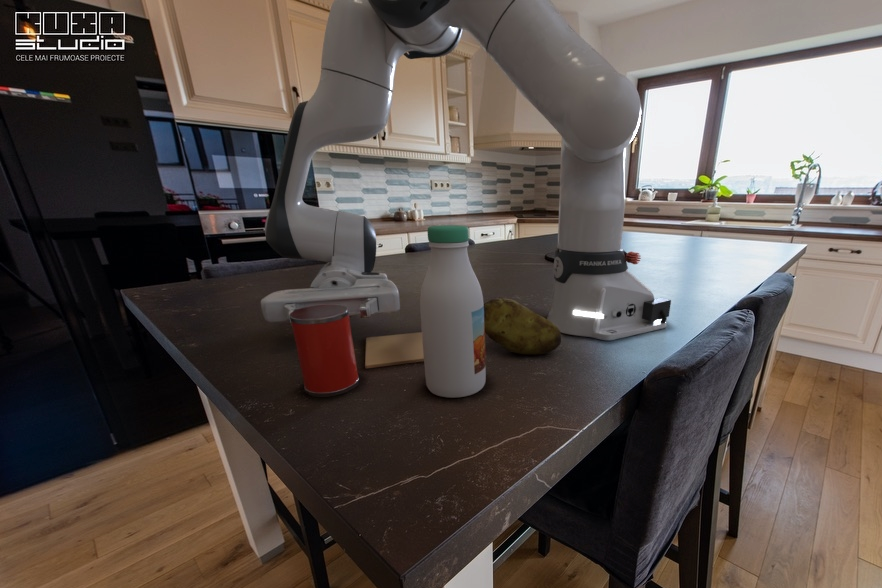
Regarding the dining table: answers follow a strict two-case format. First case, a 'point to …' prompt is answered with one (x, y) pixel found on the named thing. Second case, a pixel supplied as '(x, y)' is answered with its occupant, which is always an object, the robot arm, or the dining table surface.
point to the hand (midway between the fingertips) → (330, 315)
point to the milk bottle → (452, 316)
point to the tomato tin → (325, 349)
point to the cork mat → (394, 350)
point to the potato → (519, 328)
